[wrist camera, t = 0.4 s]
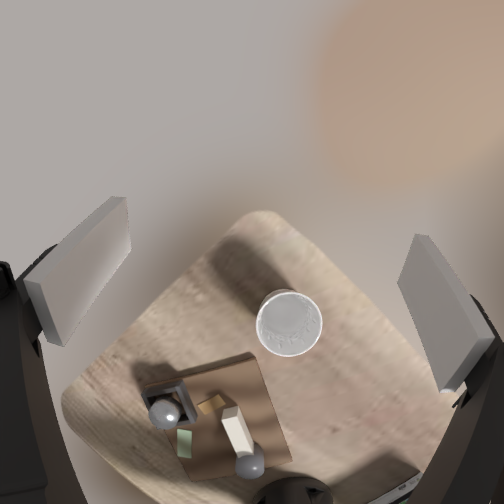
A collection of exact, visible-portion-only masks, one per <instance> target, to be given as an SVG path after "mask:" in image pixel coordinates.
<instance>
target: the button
mask: <svg viewBox="0 0 504 504" xmlns="http://www.w3.org/2000/svg"><path fill="white" fill-rule="evenodd" d="M181 414H182V407H181V405H180V403H179V402H178V401H177V400H176V399H174V398H172V397H170V396H161V397H159V398H158V399H157V400H156V401H155V402H154V404H153V405H152V407H151V408H150V410H149V419H150V421H151V422H152V423H153V424H154V425H155V426H156V427H158V428H160V429H165V430H167V429H172V428H173V427H175V426H176V424H177V422H178V420H179V418H180V416H181Z"/></svg>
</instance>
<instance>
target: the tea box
mask: <svg viewBox="0 0 504 504" xmlns="http://www.w3.org/2000/svg"><path fill="white" fill-rule="evenodd" d="M422 476H423V473H422V472H420V473H418V474H417V475H416V476H414V477H413V478H411V479H409V480H408V481H406V482H405V483H403V484H401V485H400V486H398V487H396V488H395V489H393V490H392V491H390V492H388V493H386V494H384V495H382V496H381V497H379V498H377V499H375V500H373V501H371V502H369V503H368V504H405V503H406V501H407V500H408V498H409V497H410V495H411V494H412V492H413V491H414V489H415V487H416V486H417V484H418V482H419V481H420V479H421V477H422Z"/></svg>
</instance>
